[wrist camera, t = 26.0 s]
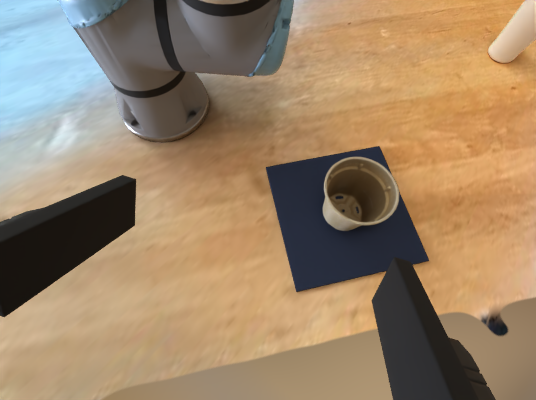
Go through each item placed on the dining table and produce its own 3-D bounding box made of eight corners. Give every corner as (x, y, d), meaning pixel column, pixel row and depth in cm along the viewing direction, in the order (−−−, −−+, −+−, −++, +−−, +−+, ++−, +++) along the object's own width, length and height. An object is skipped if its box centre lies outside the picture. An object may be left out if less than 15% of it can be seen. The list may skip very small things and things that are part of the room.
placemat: (266, 168, 45) (266, 167, 45) (378, 147, 47) (379, 145, 47) (296, 291, 38) (296, 291, 38) (427, 261, 40) (429, 260, 40)
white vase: (507, 72, 55) (592, -9, 41) (476, 55, 56) (547, -29, 42) (521, 54, 56) (607, -29, 43) (491, 38, 58) (563, -47, 44)
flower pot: (348, 174, 45) (367, 145, 37) (385, 222, 42) (415, 201, 34) (300, 201, 43) (309, 176, 35) (336, 253, 40) (354, 239, 32)
